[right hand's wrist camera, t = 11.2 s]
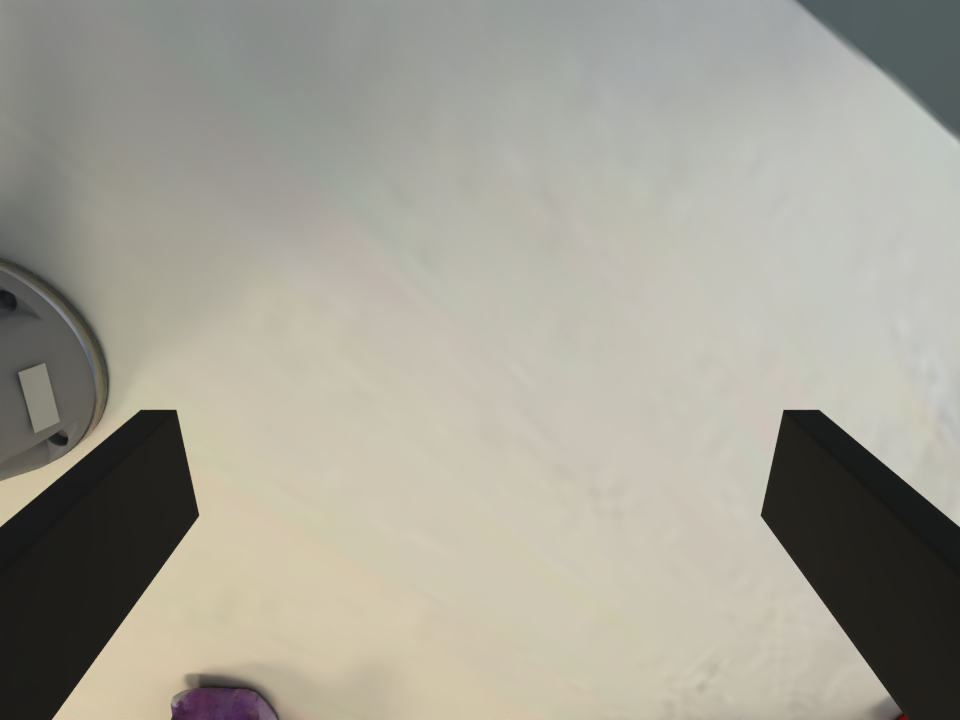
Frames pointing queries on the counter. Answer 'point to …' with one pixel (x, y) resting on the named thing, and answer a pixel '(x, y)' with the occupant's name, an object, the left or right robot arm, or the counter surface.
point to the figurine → (220, 705)
